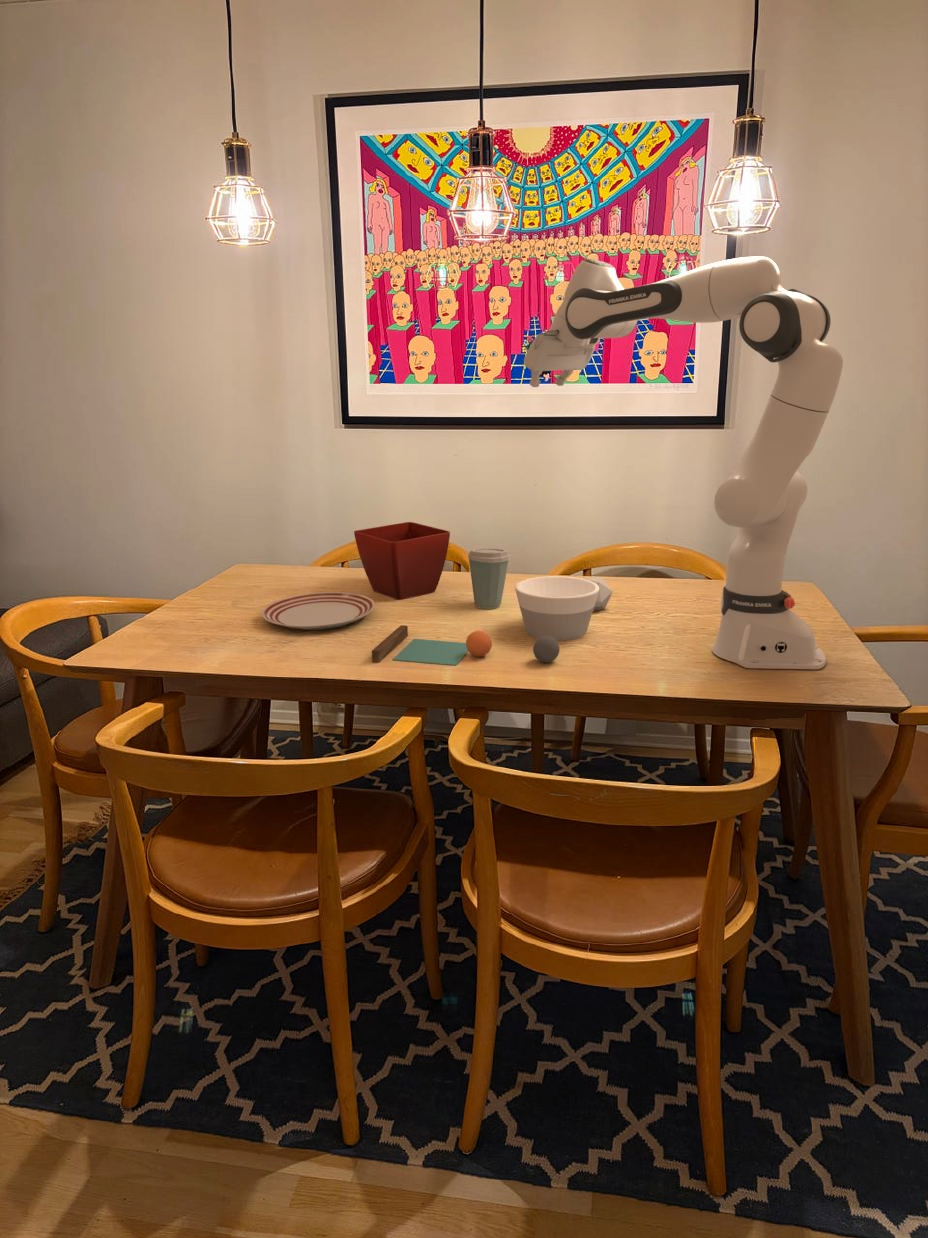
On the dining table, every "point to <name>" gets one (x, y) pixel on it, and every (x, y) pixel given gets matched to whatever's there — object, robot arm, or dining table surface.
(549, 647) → the ball
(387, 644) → the rail
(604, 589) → the die
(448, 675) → the dining table surface
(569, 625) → the bowl
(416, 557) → the plant pot
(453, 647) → the mark
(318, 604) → the dinner plate
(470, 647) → the ball
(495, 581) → the disposable coffee cup
